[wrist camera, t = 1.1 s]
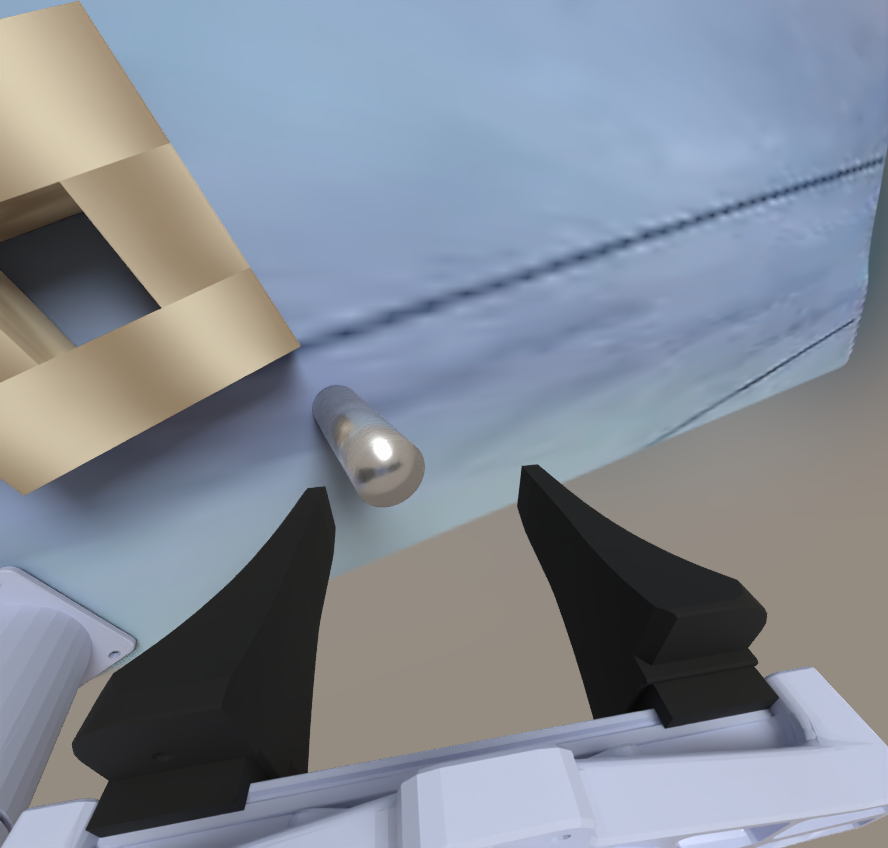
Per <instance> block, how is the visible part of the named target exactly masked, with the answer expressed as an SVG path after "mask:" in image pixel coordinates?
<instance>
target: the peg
mask: <svg viewBox="0 0 888 848" xmlns="http://www.w3.org/2000/svg"><path fill="white" fill-rule="evenodd" d="M312 410H313V415H314V418H315V420H316V422H317V423H318V425H319V427H320V428H321V430H322V432H323V434H324V435H325V437H326V439H327V441H328V442H329V444H330V446H331V448H332V449H333V451H334V453H335V455H336V456H337V458H338V460H339V462H340V463H341V465H342V467H343V469H344V470H345V472H346V474H347V476H348V477H349V479H350V481H351V483H352V484H353V486H354V488H355V490H356V491H357V493H358V495H359V496H360V498H361V499H362V500H363V501H365V502H366V503H368V504H370V505H372V506H376V507H390V506H394V505H397V504H399V503H401V502H403V501H405V500H406V499H408V498H409V497H410V496H411V495H412V494H413V493H414V492H415V491H416V490H417V488H418V487H419V485H420V483H421V481H422V479H423V475H424V470H425V464H424V459H423V456H422V454H421V452H420V451H419V449H418V448H417V447H416V446H415V445H414V444H412V443H411V442H410V441H409V440H408V439H407V438H406V437H405V436H403V435H402V434H401V433H400V432H399V431H398V430H397V429H396V428H394V427H393V426H392V425H391V424H390V423H389V422H388V421H387V420H385V419H384V418H383V417H382V416H381V415H380V414H379V413H378V412H376V411H375V410H374V409H373V408H372V407H371V406H370V405H369V404H367V403H366V402H365V401H364V400H363V399H362V398H361V397H360V396H358V395H357V394H356V393H355V392H354V391H353V390H352V389H350V388H348V387H346V386H342V385H333V386H329V387H327V388H325V389H323V390H322V391H321V392H320V393H319V394H318V395H317V396H316V398H315V400H314V402H313V409H312Z"/></svg>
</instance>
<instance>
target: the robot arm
mask: <svg viewBox="0 0 888 848" xmlns="http://www.w3.org/2000/svg"><path fill="white" fill-rule="evenodd" d="M517 507H518V510H519V514H520V517H521V520H522V523H523V526H524V529H525V532H526V534H527V536H528V539H529V541H530V543H531V545H532V547H533V549H534V551H535V554H536V556H537V558H538V560H539V562H540V564H541V566H542V569H543V571H544V573H545V575H546V577H547V579H548V581H549V583H550V586H551V588H552V590H553V593H554V595H555V598H556V601H557V603H558V607H559V609H560V612H561V615H562V618H563V621H564V624H565V627H566V629H567V633H568V636H569V639H570V642H571V645H572V648H573V651H574V654H575V657H576V661H577V664H578V667H579V670H580V674H581V677H582V680H583V684H584V687H585V690H586V694H587V698H588V701H589V704H590V708H591V712H592V715H593V719H594V720H590V721H584V722H579V723H573V724H568V725H562V726H557V727H552V728H546V729H541V730H535V731H531V732H525V733H519V734H514V735H509V736H504V737H498V738H492V739H487V740H483V741H476V742H471V743H466V744H460V745H455V746H449V747H444V748H439V749H433V750H428V751H423V752H417V753H412V754H407V755H401V756H396V757H390V758H386V759H380V760H374V761H369V762H364V763H359V764H353V765H347V766H342V767H337V768H331V769H326V770H321V771H316V772H310V773H308V757H309V738H310V724H311V710H312V697H313V685H314V673H315V661H316V652H317V643H318V632H319V626H320V619H321V614H322V609H323V604H324V599H325V594H326V589H327V585H328V580H329V575H330V570H331V565H332V560H333V554H334V543H335V528H336V527H335V523H334V519H333V515H332V511H331V507H330V503H329V499H328V495H327V491H326V487H315V488H307V490H306V491H305V492H304V493H303V495H302V496H301V498H300V499H299V500H298V502H297V503H296V505H295V506H294V507H293V509H292V510H291V512H290V513H289V514H288V516H287V517H286V518H285V520H284V521H283V522H282V524H281V525H280V526H279V527H278V529H277V530H276V531H275V533H274V534H273V535H272V536H271V538H270V539H269V540H268V541H267V542H266V544H265V545H264V546H263V547H262V548H261V549H260V551H259V552H258V553H257V554H256V555H255V556H254V558H253V559H252V560H251V561H250V562H249V563H248V564H247V565H246V566H245V567H244V568H243V569H242V570H241V571H240V572H239V573H238V574H237V575H236V577H235V578H234V579H233V580H232V581H231V582H229V583H228V584H227V585H226V586H225V587H224V588H223V589H222V590H221V591H220V592H219V593H218V594H216V595H215V596H214V597H213V598H212V599H211V600H210V601H209V602H207V603H206V604H205V605H204V606H203V607H202V608H201V609H199V610H198V611H197V612H196V613H195V614H193V615H192V616H191V617H190V618H189V619H187V620H186V621H185V622H184V623H182V624H181V625H180V626H179V627H177V628H176V629H175V630H173V631H172V632H171V633H169V634H168V635H167V636H166V637H164V638H163V639H162V640H160V641H159V642H158V643H156V644H155V645H153V646H152V647H151V648H149V649H148V650H146V651H145V652H143V653H142V654H141V655H139V656H138V657H136V658H135V659H134V660H132V661H131V662H129V663H128V664H126V665H125V666H124V667H122V668H121V669H119V670H118V671H116V672H115V673H113V675H112V676H111V678H110V680H109V681H108V682H107V684H106V686H105V687H104V689H103V690H102V692H101V693H100V695H99V697H98V699H97V700H96V702H95V704H94V706H93V707H92V709H91V711H90V713H89V714H88V716H87V718H86V720H85V721H84V723H83V725H82V726H81V728H80V730H79V731H78V733H77V735H76V737H75V739H74V740H73V742H72V748H73V752H74V755H75V756H76V757H77V758H78V759H79V760H80V761H81V762H82V763H84V764H85V765H87V766H88V767H90V768H91V769H93V770H94V771H95V772H97V773H98V774H100V775H101V776H103V777H104V778H106V779H107V780H109V782H108V784H107V786H106V788H105V790H104V792H103V794H102V796H101V798H100V800H97V799H89V798H85V799H76V800H70V801H65V802H59V803H54V804H49V805H43V806H37V807H32V808H28V807H29V805H30V803H31V800H32V798H33V796H34V793H35V791H36V788H37V786H38V784H39V781H40V779H41V776H42V774H43V772H44V769H45V767H46V764H47V762H48V759H49V757H50V754H51V752H52V750H53V747H54V745H55V743H56V740H57V738H58V736H59V733H60V731H61V728H62V726H63V723H64V721H65V719H66V716H67V714H68V711H69V709H70V707H71V704H72V702H73V699H74V697H75V695H76V692H77V690H78V688H79V687H81V686H82V685H84V684H85V683H86V682H88V681H89V680H91V679H92V678H94V677H95V676H97V675H98V674H100V673H101V672H102V671H104V670H105V669H107V668H108V667H110V666H111V665H113V664H114V663H116V662H117V661H118V660H120V659H121V658H123V657H124V656H126V655H127V654H129V653H130V652H131V651H132V650H133V649H134V647H135V644H136V640H135V639H134V638H133V637H131V636H130V635H128V634H126V633H125V632H123V631H121V630H120V629H118V628H117V627H115V626H113V625H112V624H110V623H108V622H107V621H105V620H103V619H102V618H100V617H98V616H97V615H95V614H93V613H92V612H90V611H88V610H87V609H85V608H84V607H82V606H80V605H79V604H77V603H75V602H74V601H72V600H70V599H69V598H67V597H65V596H64V595H62V594H60V593H59V592H57V591H56V590H54V589H52V588H51V587H49V586H47V585H46V584H44V583H42V582H41V581H39V580H37V579H36V578H34V577H32V576H31V575H29V574H28V573H26V572H24V571H23V570H21V569H19V568H17V567H11V566H8V567H2V568H0V848H784V847H787V846H791V845H795V844H798V843H802V842H806V841H810V840H813V839H817V838H821V837H824V836H829V835H832V834H837V833H841V832H845V831H849V830H853V829H856V828H861V827H863V826H865V825H867V824H870V823H872V822H874V821H876V820H878V819H880V818H882V817H884V816H886V815H888V746H887V745H886V744H885V743H884V742H883V741H882V740H881V739H880V738H879V737H878V736H877V735H876V734H875V733H874V731H872V729H871V728H870V727H869V726H868V725H867V724H866V723H865V722H864V721H863V720H862V719H861V718H860V717H859V715H857V713H856V712H855V711H854V710H853V709H852V708H851V707H850V706H849V705H848V704H847V703H846V701H845V700H844V699H843V698H842V697H841V696H840V695H839V694H838V693H837V692H836V691H835V690H834V689H833V688H832V687H831V686H830V684H829V683H828V682H827V681H826V680H825V679H824V678H823V677H822V676H821V675H820V674H819V673H818V671H816V669H815V668H813V667H809V666H808V667H803V668H797V669H792V670H786V671H781V672H776V673H773V674H770V675H768V676H766V677H765V678H763V677H762V676H761V674H760V673H759V672H758V670H757V669H756V668H755V667H754V666H756V665H757V664H758V660H757V658H756V657H755V656H754V655H753V654H752V652H751V651H750V650H749V649H748V647H749V646H750V645H751V643H752V642H753V641H754V639H755V638H756V637H757V636H758V634H759V633H760V632H761V630H762V629H763V627H764V625H765V624H766V619H767V613H766V610H765V608H764V607H763V606H762V605H761V604H760V603H759V602H758V601H757V600H756V599H755V598H754V597H753V596H752V595H751V594H750V593H749V591H748V590H747V589H745V587H744V586H743V585H742V584H741V583H740V582H739V581H738V580H736V579H733V578H730V577H728V576H725V575H722V574H720V573H717V572H714V571H712V570H709V569H707V568H704V567H701V566H699V565H696V564H694V563H692V562H689V561H687V560H685V559H682V558H680V557H678V556H675V555H673V554H671V553H669V552H667V551H665V550H663V549H661V548H659V547H657V546H655V545H653V544H651V543H649V542H647V541H645V540H643V539H641V538H639V537H638V536H636V535H634V534H632V533H630V532H629V531H627V530H625V529H624V528H622V527H620V526H619V525H617V524H615V523H614V522H612V521H611V520H609V519H608V518H606V517H604V516H603V515H602V514H600V513H599V512H597V511H596V510H594V509H593V508H592V507H590V506H589V505H587V504H586V503H584V502H583V501H582V500H581V499H579V498H578V497H577V496H576V495H574V494H573V493H572V492H570V491H569V490H568V489H567V488H565V487H564V486H563V485H562V484H561V483H559V482H558V481H557V480H556V479H555V478H553V477H552V476H551V475H550V474H549V473H547V472H546V471H545V470H544V469H543V468H541V467H540V466H539V465H538V464H537V465H527V466H522V469H521V478H520V487H519V495H518V504H517ZM113 651H119V652H118V653H112V652H113Z"/></svg>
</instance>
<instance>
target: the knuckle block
mask: <svg viewBox="0 0 888 848" xmlns="http://www.w3.org/2000/svg"><path fill="white" fill-rule="evenodd" d="M80 212H84V213H85V214H86V215H87V217H88V218H89V219H90V220H91V221H92V223H93V224H94V225H95V226H96V228H97V229H98V230H99V231H100V233H101V234H102V235H103V236H104V238H105V239H106V240H107V241H108V242H109V244H110V245H111V246H112V247H113V249H114V250H115V251H116V252H117V254H118V255H119V256H120V257H121V259H122V260H123V261H124V262H125V263H126V265H127V266H128V267H129V268H130V270H131V271H132V272H133V273H134V275H135V276H136V277H137V278H138V279H139V281H140V282H141V283H142V284H143V286H144V287H145V288H146V289H147V291H148V292H149V293H150V294H151V296H152V297H153V298H154V299H155V300H156V302H157V303H158V304H159V305H160V307H161V309H159V310H157V311H155V312H152V313H150V314H148V315H146V316H144V317H142V318H139V319H137V320H135V321H133V322H131V323H129V324H126V325H124V326H122V327H120V328H118V329H116V330H113V331H111V332H109V333H107V334H105V335H103V336H100V337H98V338H96V339H94V340H92V341H90V342H87V343H85V344H83V345H81V346H79V347H76V346H75V345H74V344H73V343H72V342H71V341H70V340H69V339H68V338H67V337H66V336H65V335H64V334H63V333H62V332H61V331H60V330H59V329H58V328H57V326H56V325H55V324H54V323H53V322H52V321H51V320H50V319H49V318H48V317H47V316H46V315H45V314H44V313H43V312H42V311H41V310H40V309H39V308H38V307H37V306H36V305H35V304H34V303H33V302H32V301H31V300H30V299H29V298H28V297H27V296H26V295H25V294H24V293H23V292H22V291H21V290H20V289H19V288H18V287H17V286H16V285H15V284H14V283H13V282H12V281H11V280H10V279H9V278H8V277H7V276H6V275H5V274H4V273H3V272H2V271H1V270H0V479H2V480H3V481H5V482H6V483H7V484H9V485H10V486H12V487H13V488H14V489H16V490H17V491H19V492H20V493H21V494H23V495H24V496H25V495H27V494H28V493H30V492H32V491H34V490H36V489H38V488H39V487H41V486H43V485H45V484H47V483H49V482H51V481H52V480H54V479H56V478H58V477H60V476H62V475H64V474H65V473H67V472H69V471H71V470H73V469H75V468H77V467H78V466H80V465H82V464H84V463H86V462H88V461H89V460H91V459H93V458H95V457H97V456H99V455H101V454H102V453H104V452H106V451H108V450H110V449H112V448H114V447H115V446H117V445H119V444H121V443H123V442H125V441H126V440H128V439H130V438H132V437H134V436H136V435H138V434H139V433H141V432H143V431H145V430H147V429H149V428H151V427H152V426H154V425H156V424H158V423H160V422H162V421H163V420H165V419H167V418H169V417H171V416H173V415H175V414H176V413H178V412H180V411H182V410H184V409H186V408H188V407H189V406H191V405H193V404H195V403H197V402H199V401H200V400H202V399H204V398H206V397H208V396H210V395H212V394H213V393H215V392H217V391H219V390H221V389H223V388H225V387H226V386H228V385H230V384H232V383H234V382H236V381H237V380H239V379H241V378H243V377H245V376H247V375H249V374H250V373H252V372H254V371H256V370H258V369H260V368H262V367H263V366H265V365H267V364H269V363H271V362H273V361H274V360H276V359H278V358H280V357H282V356H284V355H286V354H287V353H289V352H291V351H293V350H295V349H297V348H299V347H300V344H299V343H298V341H297V339H296V338H295V336H294V335H293V333H292V332H291V330H290V329H289V327H288V325H287V324H286V322H285V321H284V319H283V318H282V316H281V315H280V313H279V311H278V310H277V308H276V307H275V305H274V304H273V302H272V301H271V299H270V297H269V296H268V294H267V293H266V291H265V290H264V288H263V287H262V285H261V283H260V282H259V280H258V279H257V277H256V276H255V274H254V272H253V271H252V269H251V268H250V266H249V265H248V263H247V262H246V260H245V258H244V257H243V255H242V254H241V252H240V251H239V249H238V248H237V246H236V244H235V243H234V241H233V240H232V238H231V237H230V235H229V234H228V232H227V230H226V229H225V227H224V226H223V224H222V223H221V221H220V220H219V218H218V216H217V215H216V213H215V212H214V210H213V209H212V207H211V206H210V204H209V202H208V201H207V199H206V198H205V196H204V195H203V193H202V191H201V190H200V188H199V187H198V185H197V184H196V182H195V181H194V179H193V177H192V176H191V174H190V173H189V171H188V170H187V168H186V167H185V165H184V163H183V162H182V160H181V159H180V157H179V156H178V154H177V153H176V151H175V149H174V148H173V146H172V145H171V143H170V142H169V140H168V139H167V137H166V135H165V134H164V132H163V131H162V129H161V128H160V126H159V124H158V123H157V121H156V120H155V118H154V117H153V115H152V114H151V112H150V110H149V109H148V107H147V106H146V104H145V103H144V101H143V100H142V98H141V96H140V95H139V93H138V92H137V90H136V89H135V87H134V86H133V84H132V82H131V81H130V79H129V78H128V76H127V75H126V73H125V72H124V70H123V68H122V67H121V65H120V64H119V62H118V61H117V59H116V58H115V56H114V54H113V53H112V51H111V50H110V48H109V47H108V45H107V43H106V42H105V40H104V39H103V37H102V36H101V34H100V33H99V31H98V29H97V28H96V26H95V25H94V23H93V22H92V20H91V19H90V17H89V15H88V14H87V12H86V11H85V9H84V8H83V6H82V5H81V3H80V1H76V2H72V3H68V4H63V5H59V6H55V7H50V8H46V9H42V10H37V11H33V12H29V13H25V14H20V15H16V16H12V17H7V18H3V19H0V242H2V241H5V240H8V239H10V238H13V237H16V236H18V235H21V234H24V233H26V232H29V231H32V230H35V229H37V228H40V227H43V226H45V225H48V224H51V223H53V222H56V221H59V220H61V219H64V218H67V217H69V216H72V215H75V214H77V213H80Z"/></svg>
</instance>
